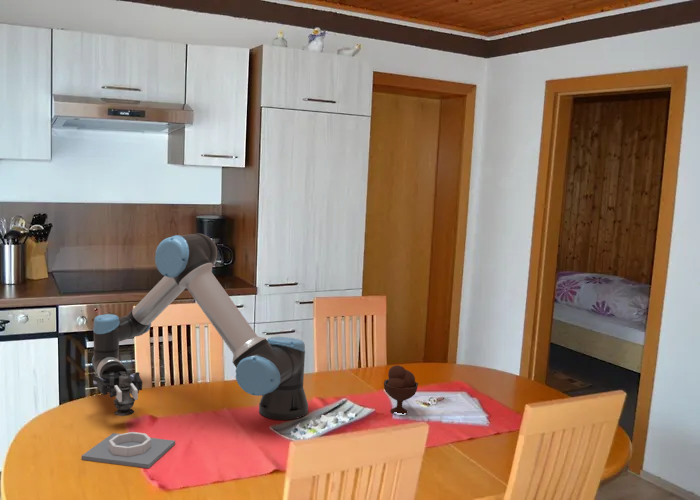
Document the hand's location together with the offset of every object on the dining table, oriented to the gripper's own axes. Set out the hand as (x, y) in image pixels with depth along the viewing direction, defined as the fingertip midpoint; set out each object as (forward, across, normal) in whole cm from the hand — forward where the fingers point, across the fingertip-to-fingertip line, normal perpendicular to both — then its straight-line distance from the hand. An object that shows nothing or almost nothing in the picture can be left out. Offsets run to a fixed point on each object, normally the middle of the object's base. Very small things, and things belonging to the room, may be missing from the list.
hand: (128, 395), depth 182 cm
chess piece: (-5, 0, -7) cm, 9 cm away
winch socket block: (+13, +2, -10) cm, 17 cm away
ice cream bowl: (+17, -79, -11) cm, 82 cm away
